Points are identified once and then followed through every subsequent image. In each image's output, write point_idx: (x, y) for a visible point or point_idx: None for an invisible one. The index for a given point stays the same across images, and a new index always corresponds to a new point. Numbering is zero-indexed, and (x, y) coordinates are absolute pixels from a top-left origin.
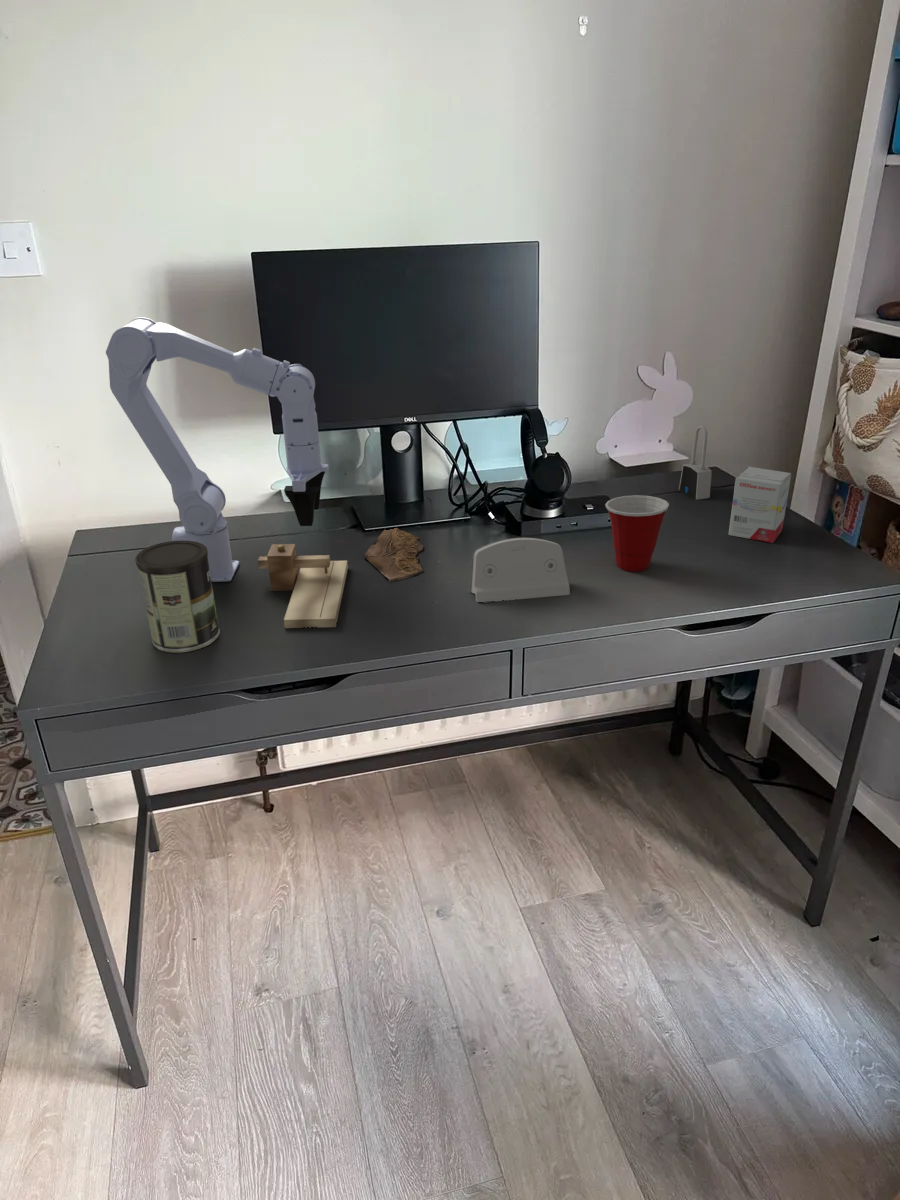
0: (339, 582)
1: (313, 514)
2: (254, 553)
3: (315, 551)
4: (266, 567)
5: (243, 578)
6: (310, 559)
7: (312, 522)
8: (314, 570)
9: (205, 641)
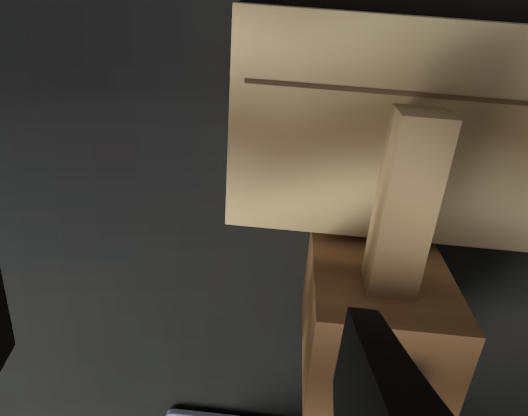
0: (512, 42)
1: (402, 370)
2: (82, 369)
3: (45, 164)
4: None
5: (288, 390)
6: (434, 221)
7: (386, 324)
8: (334, 171)
9: None
